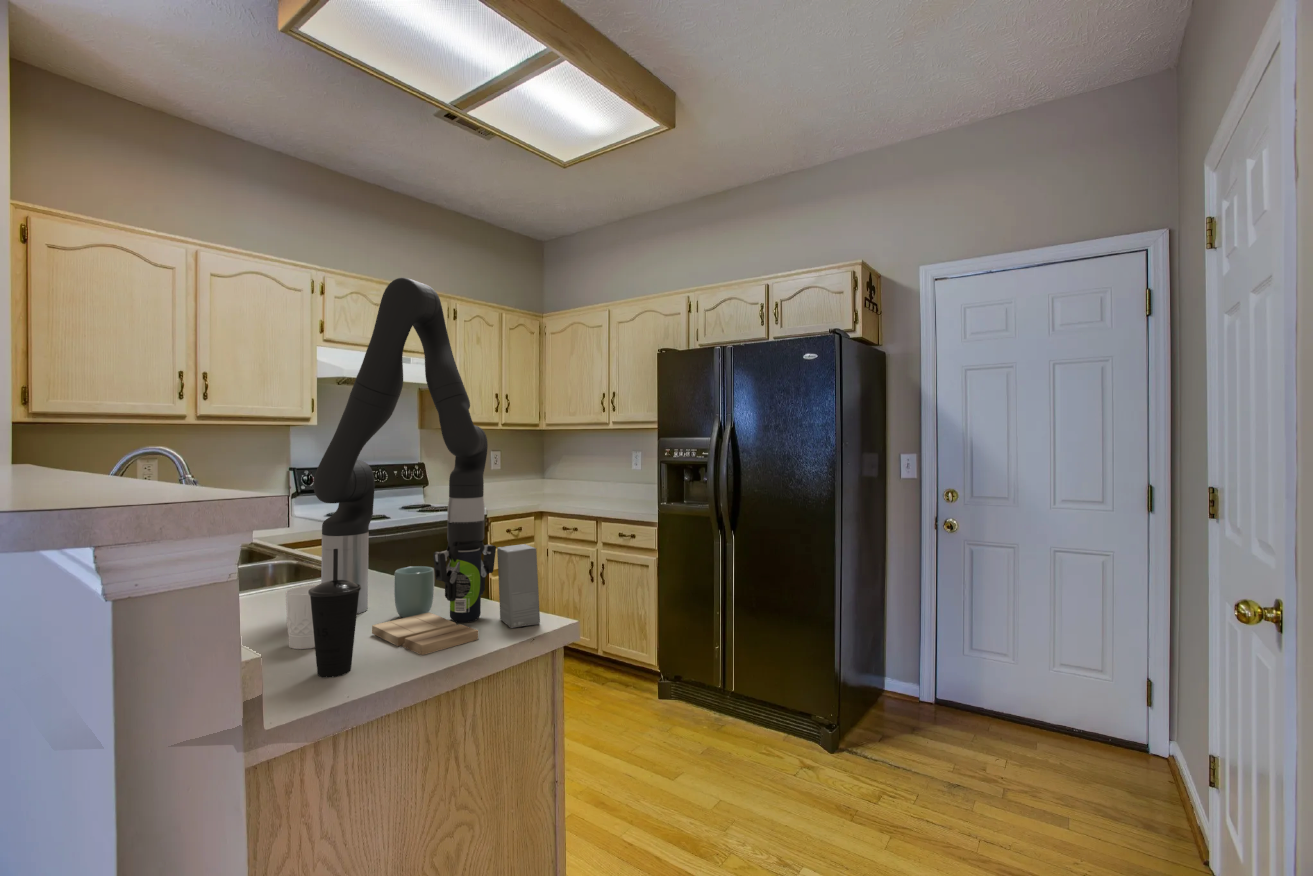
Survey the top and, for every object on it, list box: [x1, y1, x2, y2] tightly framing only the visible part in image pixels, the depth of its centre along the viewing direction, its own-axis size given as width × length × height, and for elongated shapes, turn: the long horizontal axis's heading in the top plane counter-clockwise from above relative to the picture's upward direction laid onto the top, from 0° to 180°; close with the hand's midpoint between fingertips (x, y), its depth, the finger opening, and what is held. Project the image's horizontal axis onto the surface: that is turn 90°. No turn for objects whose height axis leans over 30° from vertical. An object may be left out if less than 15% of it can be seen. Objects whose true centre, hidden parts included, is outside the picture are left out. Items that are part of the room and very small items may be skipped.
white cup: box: [285, 584, 318, 650], centre depth 114 cm, size 8×8×10 cm
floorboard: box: [401, 623, 479, 656], centre depth 115 cm, size 7×12×2 cm, turn 140°
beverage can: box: [449, 548, 482, 624], centre depth 130 cm, size 6×6×15 cm
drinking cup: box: [308, 549, 361, 679], centre depth 100 cm, size 8×8×20 cm
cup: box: [393, 565, 435, 618], centre depth 132 cm, size 8×8×10 cm
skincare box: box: [496, 543, 541, 629], centre depth 129 cm, size 8×7×16 cm
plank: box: [371, 611, 457, 647], centre depth 120 cm, size 10×12×2 cm
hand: (465, 597), depth 130 cm, fingers closed on beverage can, 6 cm apart
